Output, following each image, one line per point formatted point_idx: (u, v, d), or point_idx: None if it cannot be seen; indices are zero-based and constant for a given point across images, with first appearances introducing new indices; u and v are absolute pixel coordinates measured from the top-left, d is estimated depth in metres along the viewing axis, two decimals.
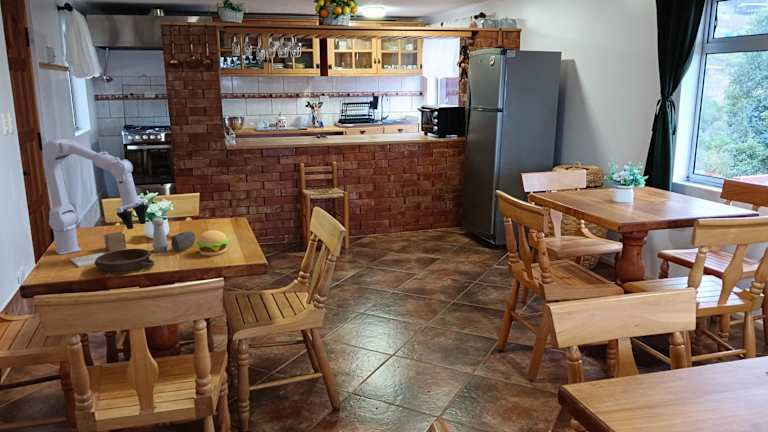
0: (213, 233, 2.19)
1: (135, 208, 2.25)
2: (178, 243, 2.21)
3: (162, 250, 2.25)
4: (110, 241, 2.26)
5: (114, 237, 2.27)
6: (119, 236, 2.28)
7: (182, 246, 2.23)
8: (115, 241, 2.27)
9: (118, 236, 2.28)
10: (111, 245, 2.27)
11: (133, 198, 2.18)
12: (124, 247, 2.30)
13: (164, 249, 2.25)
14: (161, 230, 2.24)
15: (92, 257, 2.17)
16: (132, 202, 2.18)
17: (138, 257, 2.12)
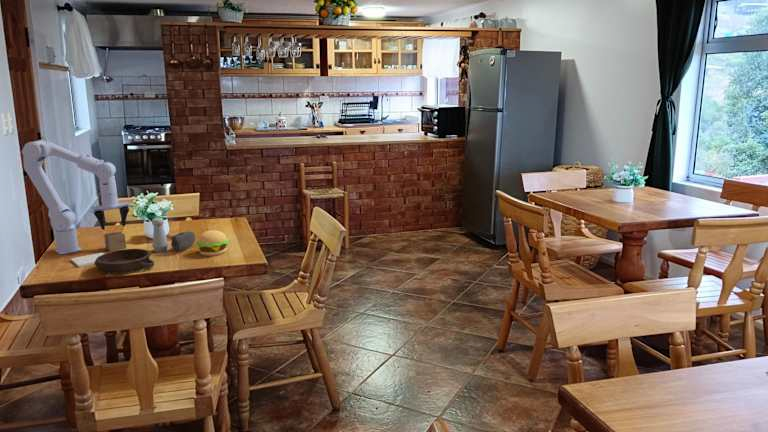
0: (213, 233, 2.19)
1: (120, 209, 2.31)
2: (178, 243, 2.21)
3: (162, 250, 2.25)
4: (110, 241, 2.26)
5: (114, 237, 2.27)
6: (119, 236, 2.28)
7: (182, 246, 2.23)
8: (115, 241, 2.27)
9: (118, 236, 2.28)
10: (111, 245, 2.27)
11: (108, 201, 2.24)
12: (124, 247, 2.30)
13: (164, 249, 2.25)
14: (161, 230, 2.24)
15: (92, 257, 2.17)
16: (107, 205, 2.24)
17: (138, 257, 2.12)
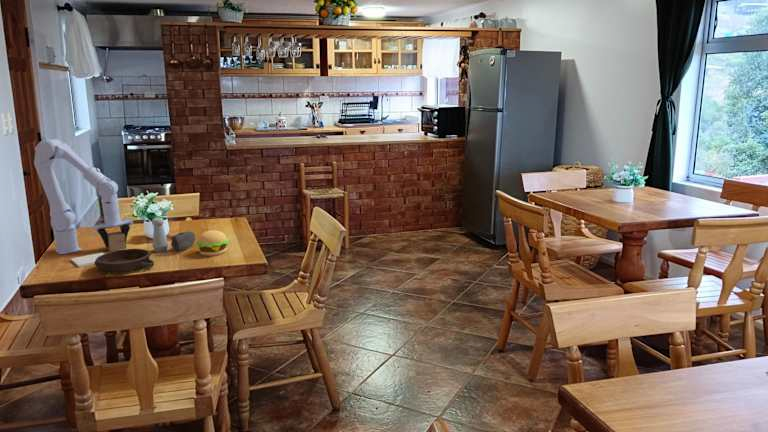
0: (213, 233, 2.19)
1: (120, 227, 2.32)
2: (178, 243, 2.21)
3: (162, 250, 2.25)
4: (110, 241, 2.26)
5: (114, 237, 2.27)
6: (119, 236, 2.28)
7: (182, 246, 2.23)
8: (115, 241, 2.27)
9: (118, 236, 2.28)
10: (111, 245, 2.27)
11: (111, 220, 2.25)
12: (124, 247, 2.30)
13: (164, 249, 2.25)
14: (161, 230, 2.24)
15: (92, 257, 2.17)
16: (109, 223, 2.25)
17: (138, 257, 2.12)
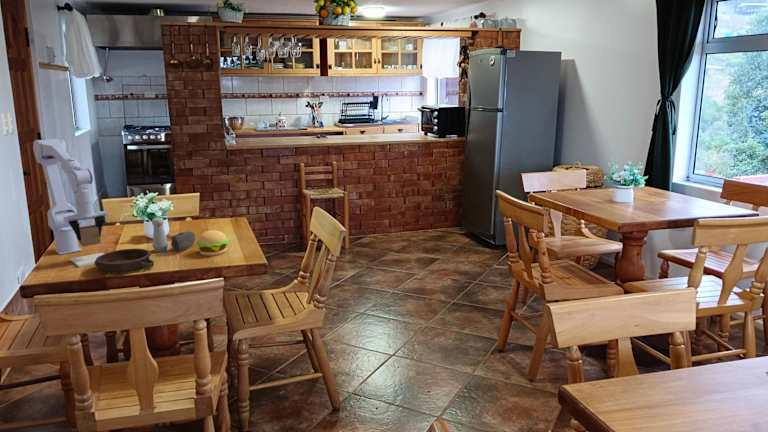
0: (213, 233, 2.19)
1: (95, 219, 2.16)
2: (178, 243, 2.21)
3: (162, 250, 2.25)
4: (82, 235, 2.10)
5: (86, 231, 2.10)
6: (92, 230, 2.12)
7: (182, 246, 2.23)
8: (88, 235, 2.11)
9: (91, 230, 2.11)
10: (83, 239, 2.10)
11: (83, 211, 2.09)
12: (98, 241, 2.14)
13: (164, 249, 2.25)
14: (161, 230, 2.24)
15: (92, 257, 2.17)
16: (81, 214, 2.09)
17: (138, 257, 2.12)
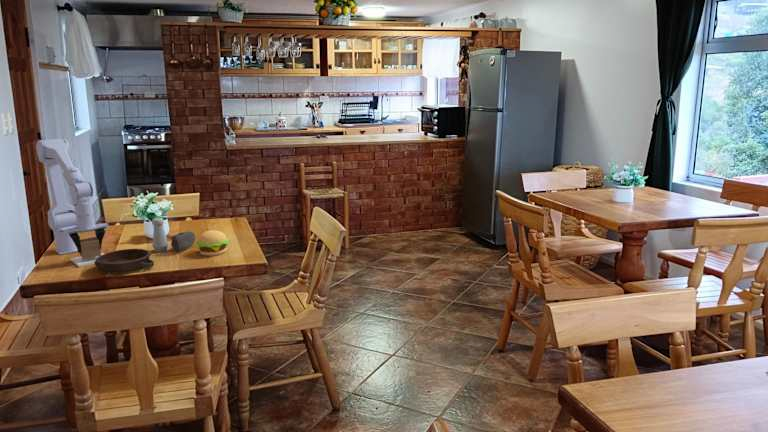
0: (213, 233, 2.19)
1: (95, 231, 2.16)
2: (178, 243, 2.21)
3: (162, 250, 2.25)
4: (83, 248, 2.10)
5: (87, 243, 2.11)
6: (92, 242, 2.12)
7: (182, 246, 2.23)
8: (88, 247, 2.11)
9: (91, 242, 2.12)
10: (84, 252, 2.11)
11: (84, 223, 2.09)
12: (98, 254, 2.14)
13: (164, 249, 2.25)
14: (161, 230, 2.24)
15: (92, 257, 2.17)
16: (82, 227, 2.10)
17: (138, 257, 2.12)
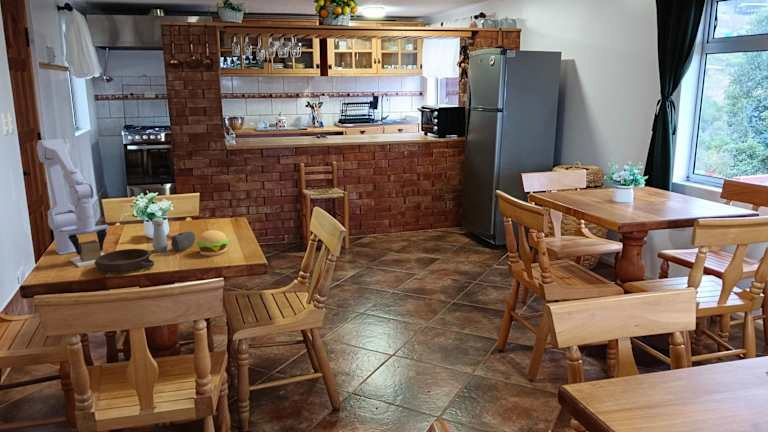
0: (213, 233, 2.19)
1: (97, 233, 2.17)
2: (178, 243, 2.21)
3: (162, 250, 2.25)
4: (83, 250, 2.11)
5: (88, 246, 2.11)
6: (93, 245, 2.12)
7: (182, 246, 2.23)
8: (89, 250, 2.12)
9: (92, 245, 2.12)
10: (84, 255, 2.11)
11: (84, 225, 2.10)
12: None
13: (164, 249, 2.25)
14: (161, 230, 2.24)
15: None
16: (82, 229, 2.10)
17: (138, 257, 2.12)
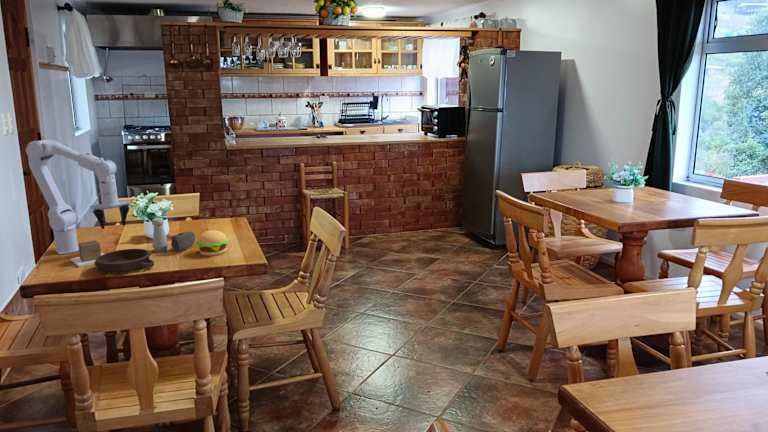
0: (213, 233, 2.19)
1: (120, 208, 2.27)
2: (178, 243, 2.21)
3: (162, 250, 2.25)
4: (83, 250, 2.11)
5: (88, 246, 2.11)
6: (93, 245, 2.12)
7: (182, 246, 2.23)
8: (89, 250, 2.12)
9: (92, 245, 2.12)
10: (84, 255, 2.11)
11: (108, 200, 2.20)
12: None
13: (164, 249, 2.25)
14: (161, 230, 2.24)
15: None
16: (106, 204, 2.20)
17: (138, 257, 2.12)
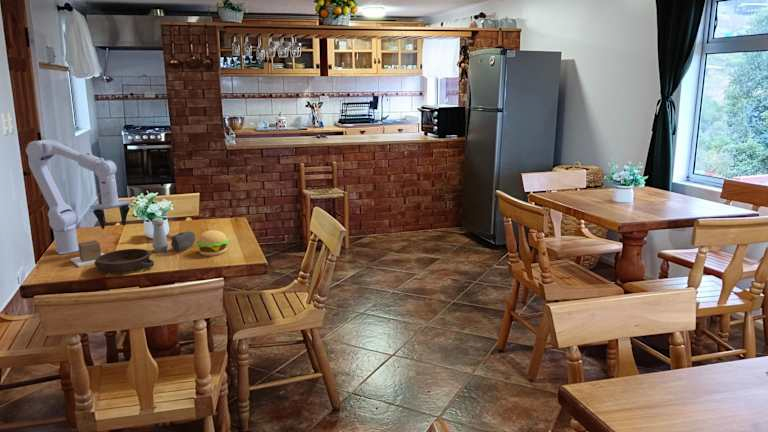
0: (213, 233, 2.19)
1: (120, 208, 2.27)
2: (178, 243, 2.21)
3: (162, 250, 2.25)
4: (83, 250, 2.11)
5: (88, 246, 2.11)
6: (93, 245, 2.12)
7: (182, 246, 2.23)
8: (89, 250, 2.12)
9: (92, 245, 2.12)
10: (84, 255, 2.11)
11: (108, 200, 2.20)
12: None
13: (164, 249, 2.25)
14: (161, 230, 2.24)
15: None
16: (107, 204, 2.20)
17: (138, 257, 2.12)
